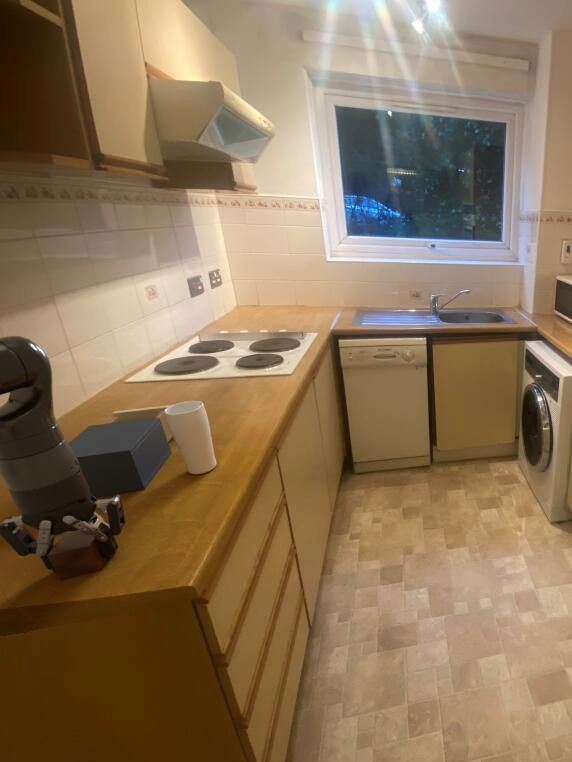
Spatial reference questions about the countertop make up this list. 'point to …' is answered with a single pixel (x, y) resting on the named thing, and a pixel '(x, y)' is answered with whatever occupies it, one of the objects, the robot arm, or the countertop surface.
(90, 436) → the dark grey box
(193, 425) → the drinking glass
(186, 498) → the countertop surface
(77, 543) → the block
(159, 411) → the drawer
